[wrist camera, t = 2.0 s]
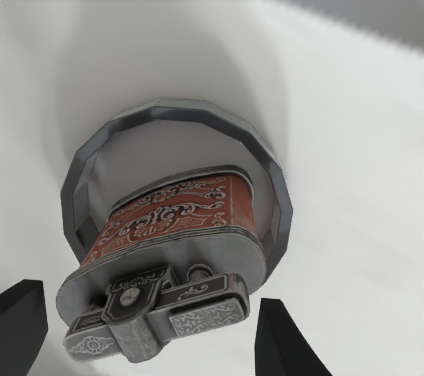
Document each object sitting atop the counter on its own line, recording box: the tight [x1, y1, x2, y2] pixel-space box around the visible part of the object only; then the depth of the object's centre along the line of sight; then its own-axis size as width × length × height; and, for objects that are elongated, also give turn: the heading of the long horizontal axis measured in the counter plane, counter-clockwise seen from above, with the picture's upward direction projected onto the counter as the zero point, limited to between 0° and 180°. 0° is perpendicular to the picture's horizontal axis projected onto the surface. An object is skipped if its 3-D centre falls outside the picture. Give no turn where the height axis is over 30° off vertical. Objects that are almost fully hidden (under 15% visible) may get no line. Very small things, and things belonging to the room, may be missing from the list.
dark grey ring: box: [60, 98, 293, 287], centre depth 20 cm, size 11×11×2 cm
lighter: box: [56, 165, 267, 363], centre depth 16 cm, size 8×3×10 cm, turn 110°
